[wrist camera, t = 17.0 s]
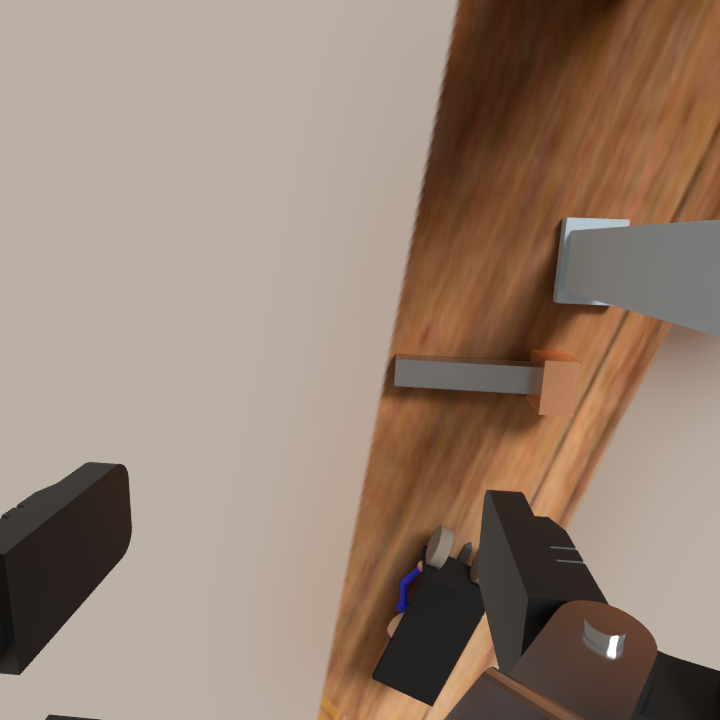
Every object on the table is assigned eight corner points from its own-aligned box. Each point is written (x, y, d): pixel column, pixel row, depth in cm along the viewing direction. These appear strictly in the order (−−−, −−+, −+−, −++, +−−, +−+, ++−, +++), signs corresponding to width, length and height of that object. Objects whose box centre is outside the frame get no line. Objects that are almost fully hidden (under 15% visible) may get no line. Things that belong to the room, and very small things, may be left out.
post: (562, 218, 44) (968, 157, 13) (623, 220, 43) (1192, 163, 12) (552, 301, 45) (892, 429, 14) (611, 304, 45) (1090, 440, 14)
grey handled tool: (396, 341, 47) (396, 351, 43) (563, 350, 46) (581, 362, 42) (393, 390, 48) (393, 405, 44) (556, 400, 47) (573, 417, 43)
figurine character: (429, 502, 52) (369, 631, 54) (438, 536, 44) (369, 686, 46) (491, 528, 52) (430, 656, 54) (511, 567, 45) (439, 715, 46)
